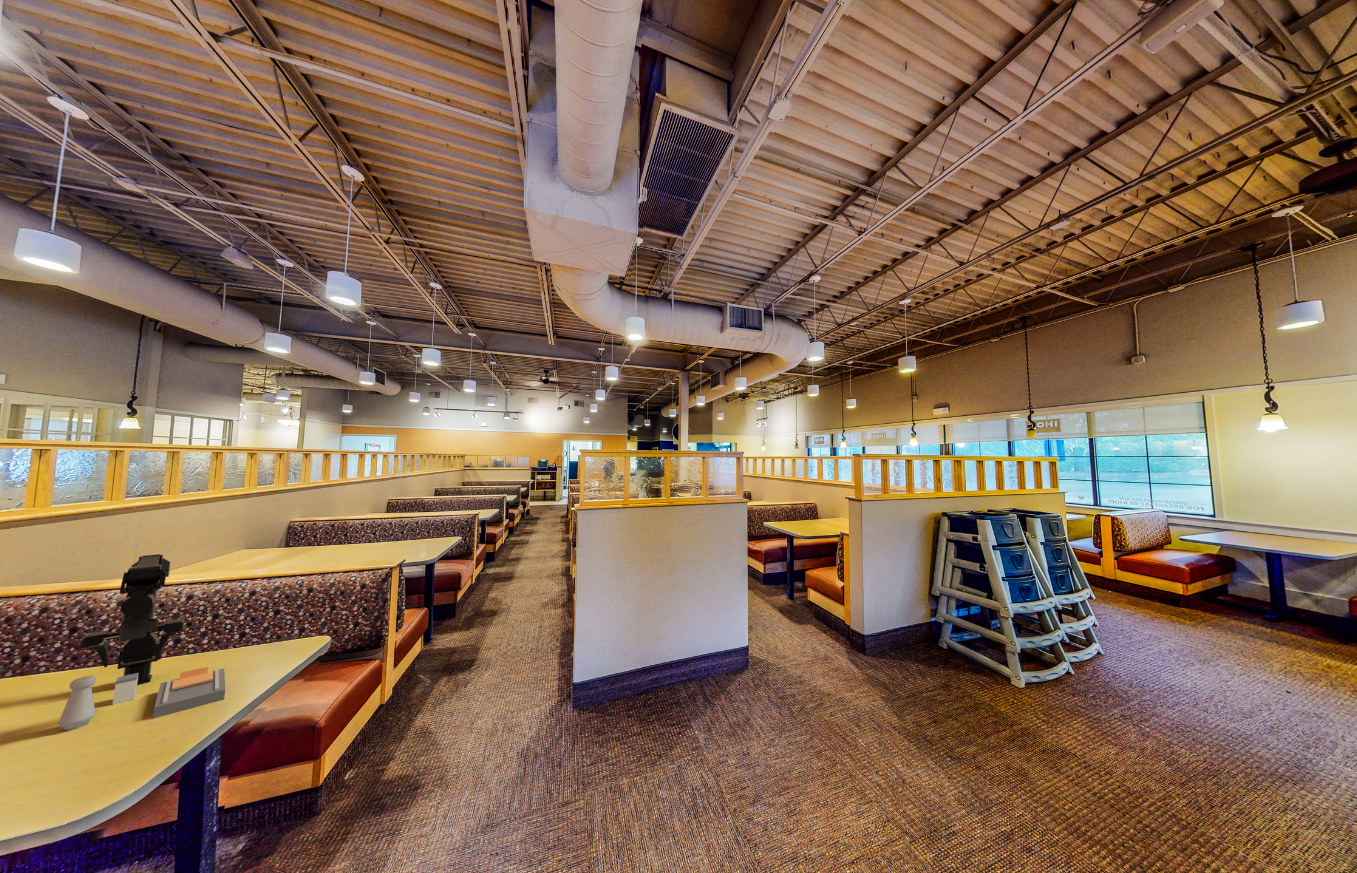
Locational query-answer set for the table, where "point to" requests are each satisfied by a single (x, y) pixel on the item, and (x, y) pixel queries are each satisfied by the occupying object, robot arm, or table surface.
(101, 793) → the table surface
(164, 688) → the socket block
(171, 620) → the robot arm
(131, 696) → the plug
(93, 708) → the salt shaker
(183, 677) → the shutter
